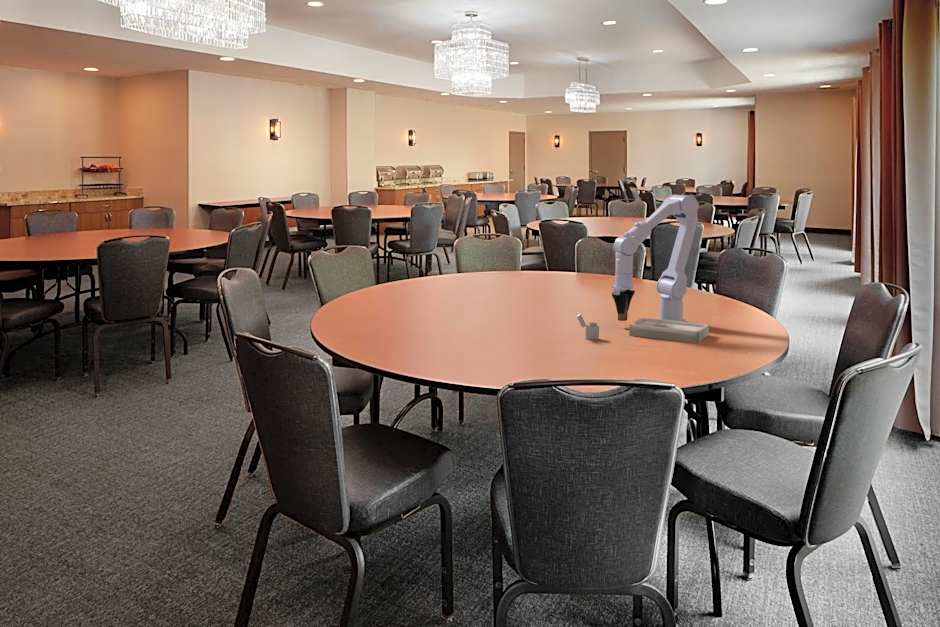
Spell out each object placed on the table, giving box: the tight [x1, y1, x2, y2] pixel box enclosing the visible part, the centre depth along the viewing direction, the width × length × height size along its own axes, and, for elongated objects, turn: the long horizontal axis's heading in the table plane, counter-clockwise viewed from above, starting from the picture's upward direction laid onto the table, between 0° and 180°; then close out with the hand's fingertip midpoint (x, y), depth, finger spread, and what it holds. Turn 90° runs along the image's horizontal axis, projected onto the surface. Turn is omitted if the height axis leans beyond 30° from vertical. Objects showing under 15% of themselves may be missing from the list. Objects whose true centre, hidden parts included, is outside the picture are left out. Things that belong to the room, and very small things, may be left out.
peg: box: [617, 299, 629, 322], centre depth 243 cm, size 3×3×8 cm
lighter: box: [576, 313, 600, 341], centre depth 228 cm, size 7×2×8 cm, turn 81°
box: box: [628, 317, 710, 344], centre depth 233 cm, size 13×22×4 cm, turn 59°
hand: (622, 312), depth 244 cm, fingers closed on peg, 3 cm apart
